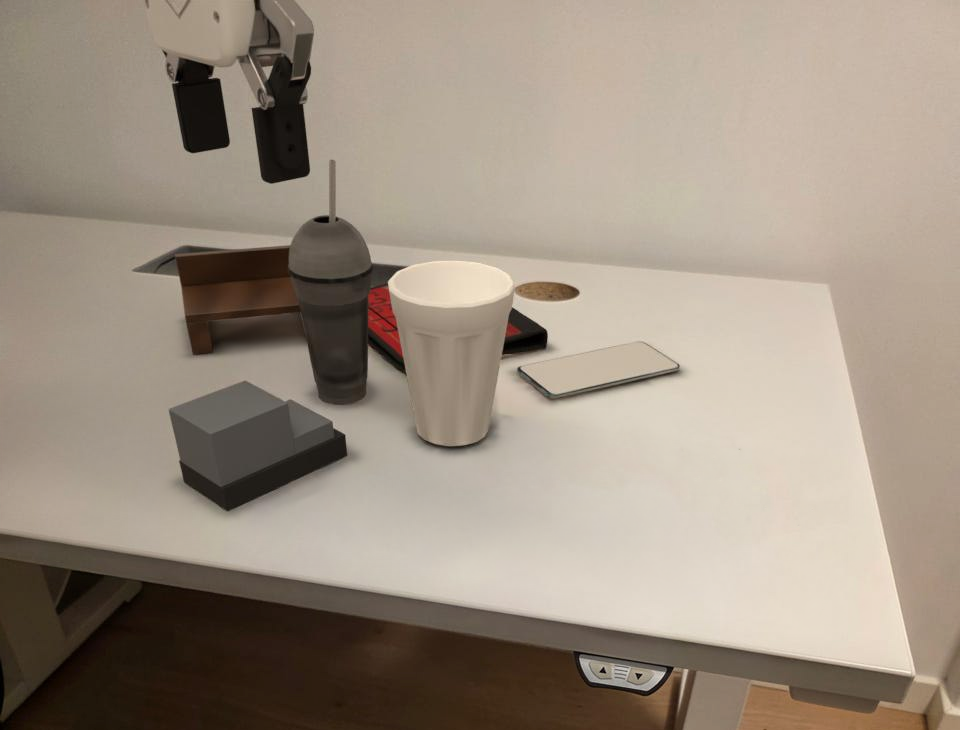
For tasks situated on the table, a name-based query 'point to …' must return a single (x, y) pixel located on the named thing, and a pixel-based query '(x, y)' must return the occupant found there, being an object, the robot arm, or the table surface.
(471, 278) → the cup
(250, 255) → the bench
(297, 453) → the stepped block on base
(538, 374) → the smartphone
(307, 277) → the beverage cup
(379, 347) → the binder
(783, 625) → the table surface
